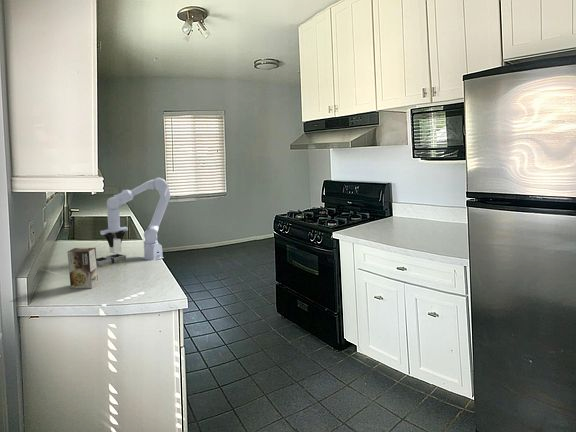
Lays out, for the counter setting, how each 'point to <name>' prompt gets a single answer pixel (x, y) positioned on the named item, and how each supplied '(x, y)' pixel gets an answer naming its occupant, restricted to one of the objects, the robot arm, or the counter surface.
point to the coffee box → (83, 267)
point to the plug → (116, 246)
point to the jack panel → (110, 259)
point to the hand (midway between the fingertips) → (115, 246)
